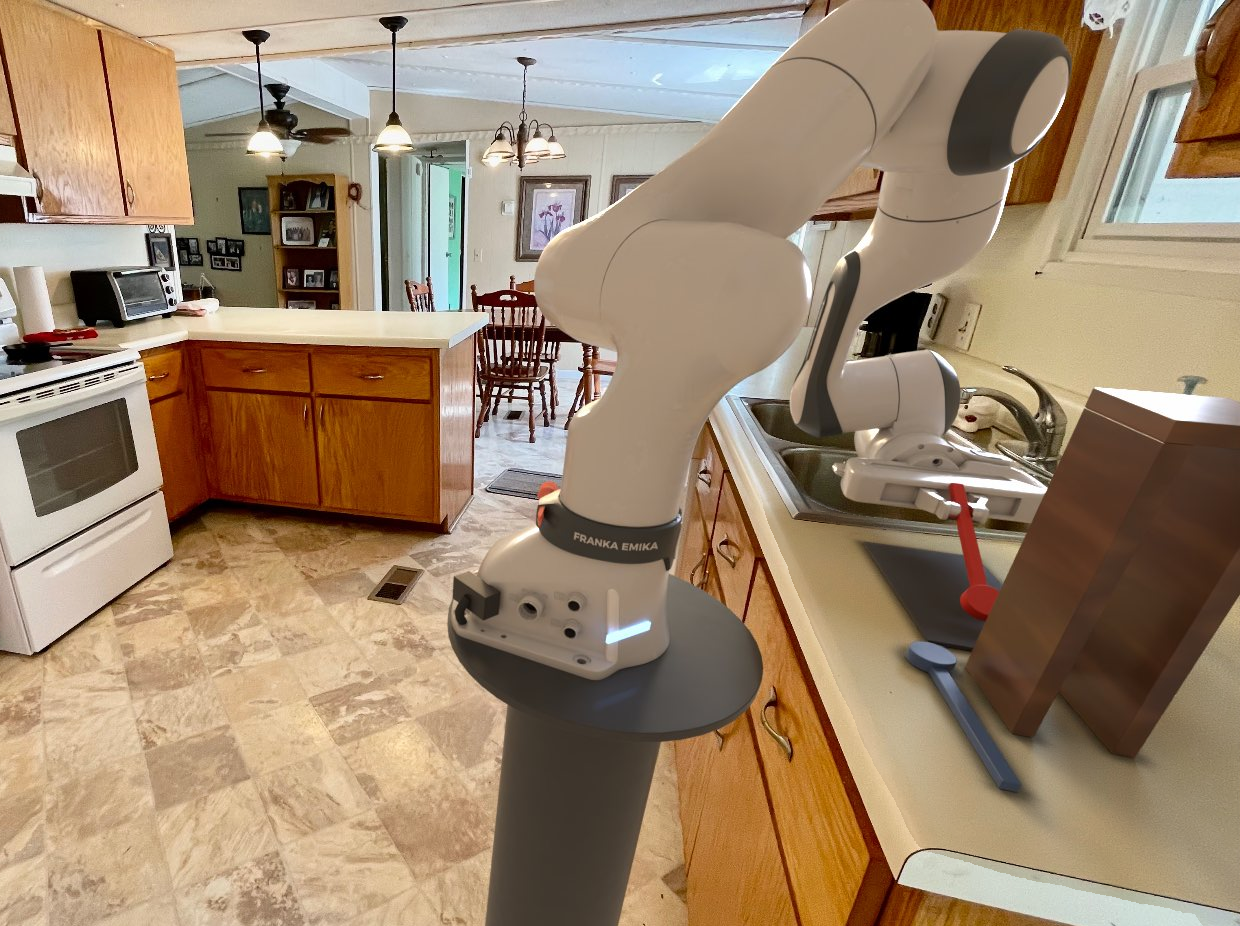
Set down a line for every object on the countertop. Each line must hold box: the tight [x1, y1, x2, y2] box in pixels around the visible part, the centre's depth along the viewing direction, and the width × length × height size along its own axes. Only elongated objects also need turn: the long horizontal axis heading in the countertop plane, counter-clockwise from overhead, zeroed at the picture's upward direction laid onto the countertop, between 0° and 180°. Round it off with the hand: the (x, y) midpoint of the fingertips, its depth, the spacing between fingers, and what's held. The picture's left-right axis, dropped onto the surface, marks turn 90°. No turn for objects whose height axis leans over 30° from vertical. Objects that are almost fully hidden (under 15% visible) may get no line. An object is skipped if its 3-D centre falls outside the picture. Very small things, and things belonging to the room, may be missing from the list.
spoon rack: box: [964, 387, 1240, 759], centre depth 50 cm, size 8×9×26 cm
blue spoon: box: [905, 640, 1023, 793], centre depth 55 cm, size 17×4×1 cm, turn 162°
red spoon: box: [948, 482, 999, 621], centre depth 70 cm, size 17×4×1 cm
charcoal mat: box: [862, 541, 1003, 652], centre depth 71 cm, size 12×22×1 cm, turn 163°
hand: (965, 515), depth 72 cm, fingers closed on red spoon, 1 cm apart
